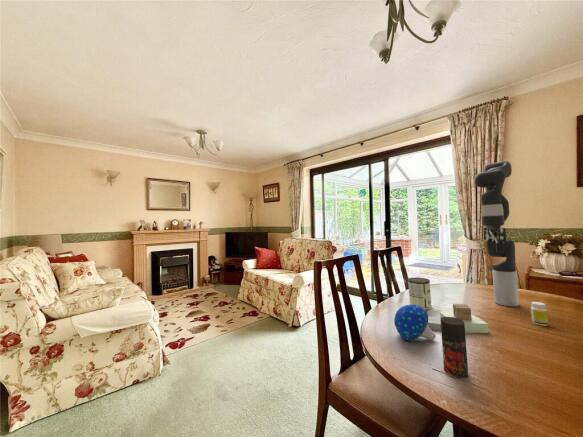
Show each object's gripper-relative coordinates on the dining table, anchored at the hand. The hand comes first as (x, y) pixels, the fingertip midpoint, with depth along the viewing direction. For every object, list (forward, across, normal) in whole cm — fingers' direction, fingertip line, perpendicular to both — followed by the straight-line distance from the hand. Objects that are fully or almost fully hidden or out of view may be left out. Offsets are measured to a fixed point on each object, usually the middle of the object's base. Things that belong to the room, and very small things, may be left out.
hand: (495, 250), depth 104 cm
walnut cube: (+27, +12, -18) cm, 34 cm away
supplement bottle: (+30, +3, +12) cm, 33 cm away
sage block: (+31, +12, -18) cm, 38 cm away
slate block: (+30, +15, -29) cm, 45 cm away
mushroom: (+30, +28, -39) cm, 57 cm away
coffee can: (+30, -10, -30) cm, 44 cm away
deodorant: (+30, +47, -31) cm, 64 cm away
